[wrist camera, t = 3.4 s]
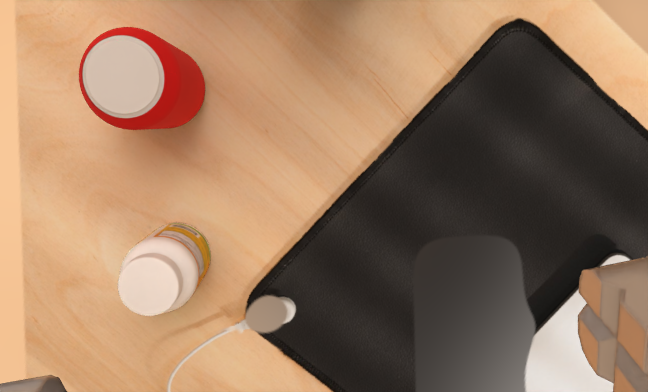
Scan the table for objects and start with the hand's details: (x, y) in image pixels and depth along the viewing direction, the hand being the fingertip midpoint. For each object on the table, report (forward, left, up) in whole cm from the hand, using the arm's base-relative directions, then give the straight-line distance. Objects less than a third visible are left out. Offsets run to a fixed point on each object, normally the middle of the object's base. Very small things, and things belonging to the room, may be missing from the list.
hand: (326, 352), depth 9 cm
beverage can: (-12, +4, -39) cm, 41 cm away
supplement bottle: (-9, -9, -39) cm, 41 cm away
